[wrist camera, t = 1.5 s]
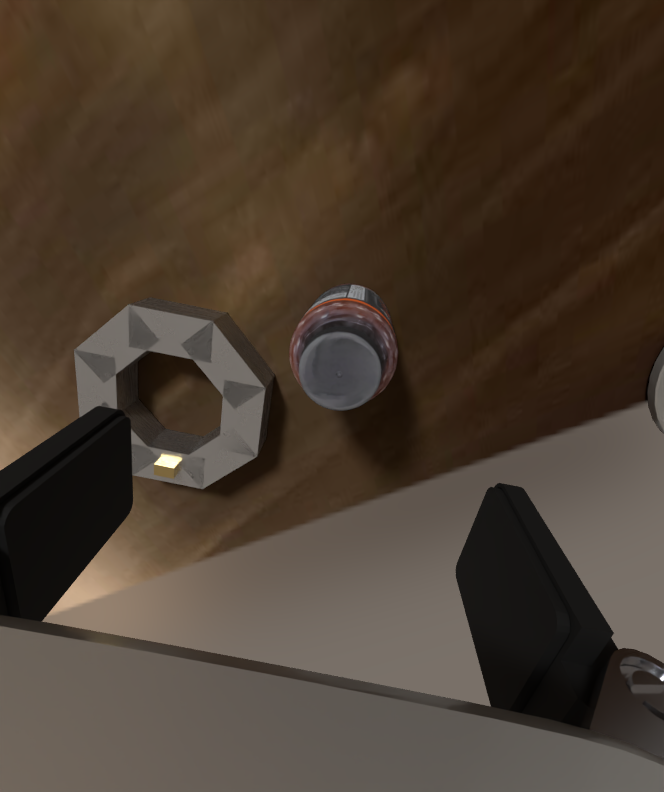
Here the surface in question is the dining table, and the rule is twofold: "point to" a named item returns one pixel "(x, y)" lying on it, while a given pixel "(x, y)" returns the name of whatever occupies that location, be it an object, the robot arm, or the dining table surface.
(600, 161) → the dining table surface
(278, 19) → the dining table surface
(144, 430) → the grey octagonal ring
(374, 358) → the supplement bottle
